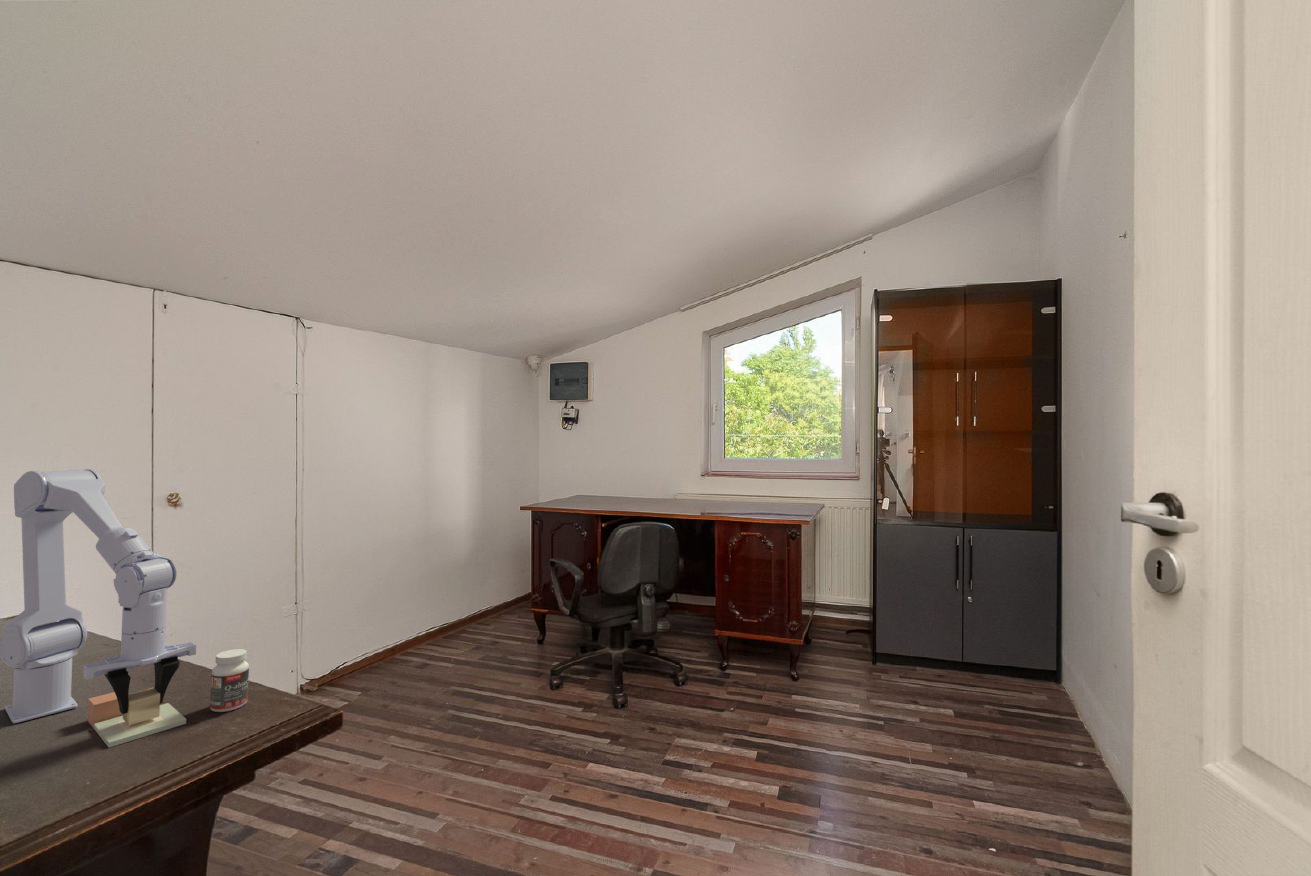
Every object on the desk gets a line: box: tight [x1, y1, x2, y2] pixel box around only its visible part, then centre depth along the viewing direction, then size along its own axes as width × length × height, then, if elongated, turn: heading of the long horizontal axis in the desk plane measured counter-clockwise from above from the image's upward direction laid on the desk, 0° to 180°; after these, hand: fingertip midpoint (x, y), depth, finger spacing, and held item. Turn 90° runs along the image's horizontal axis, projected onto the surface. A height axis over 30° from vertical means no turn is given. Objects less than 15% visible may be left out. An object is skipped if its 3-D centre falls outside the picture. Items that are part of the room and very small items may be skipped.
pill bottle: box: [209, 648, 250, 713], centre depth 106 cm, size 6×6×10 cm
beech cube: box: [123, 686, 161, 725], centre depth 98 cm, size 4×4×4 cm
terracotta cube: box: [87, 691, 123, 729], centre depth 100 cm, size 4×4×4 cm
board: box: [93, 702, 187, 748], centre depth 98 cm, size 10×10×1 cm
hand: (141, 706), depth 98 cm, fingers closed on beech cube, 4 cm apart
